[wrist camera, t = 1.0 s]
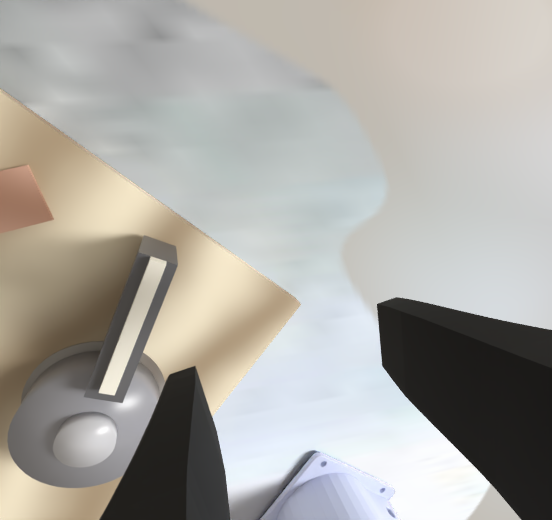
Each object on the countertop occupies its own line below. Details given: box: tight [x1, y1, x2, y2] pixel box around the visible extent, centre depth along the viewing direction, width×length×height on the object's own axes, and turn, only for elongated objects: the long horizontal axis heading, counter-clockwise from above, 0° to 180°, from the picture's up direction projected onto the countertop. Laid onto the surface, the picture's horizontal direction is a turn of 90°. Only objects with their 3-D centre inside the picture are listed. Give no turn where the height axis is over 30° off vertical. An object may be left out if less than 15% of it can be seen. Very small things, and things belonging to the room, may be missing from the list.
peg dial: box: [7, 235, 178, 488], centre depth 15 cm, size 12×6×3 cm, turn 155°
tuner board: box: [0, 88, 301, 520], centre depth 16 cm, size 18×20×1 cm
